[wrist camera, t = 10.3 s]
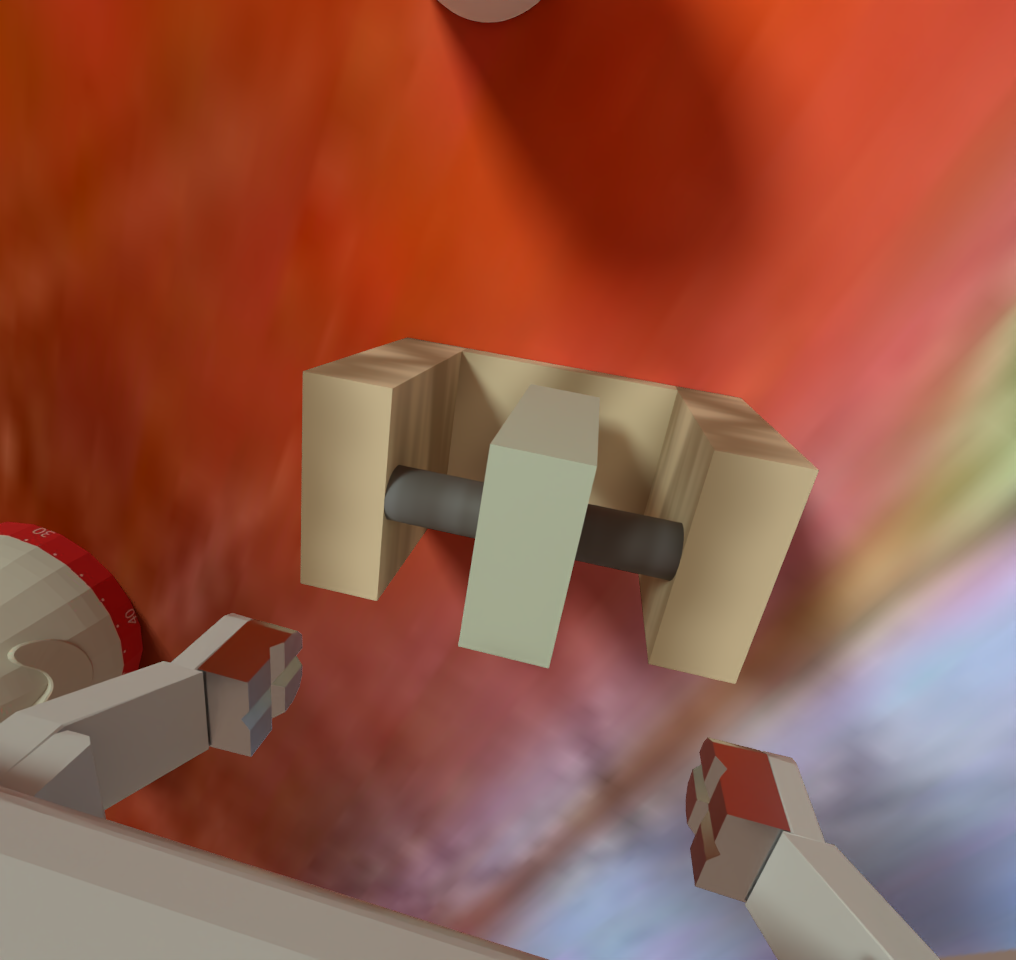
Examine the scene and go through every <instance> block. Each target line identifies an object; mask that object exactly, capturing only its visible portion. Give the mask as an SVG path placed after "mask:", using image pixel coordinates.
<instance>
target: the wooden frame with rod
mask: <svg viewBox="0 0 1016 960" xmlns="http://www.w3.org/2000/svg"><path fill="white" fill-rule="evenodd" d="M530 384H534V385H539V386H544V387H549V388H554V389H559V390H564V391H569V392H574V393H579V394H584V395H589V396H595V397H600V409H599V432H598V456H597V469H596V473H595V477H594V481H593V485H592V490H591V494H590V498H589V502H588V506H587V510H586V515H585V519H584V523H583V527H582V531H581V536H580V540H579V544H578V548H577V552H576V556H575V560H577V561H581V562H586V563H591V564H595V565H600V566H604V567H609V568H614V569H618V570H623V571H628V572H632V573H637V574H639V583H640V592H641V601H642V610H643V619H644V628H645V637H646V646H647V655H648V664H651V665H655V666H660V667H664V668H668V669H673V670H677V671H681V672H686V673H690V674H694V675H699V676H703V677H707V678H712V679H716V680H720V681H724V682H729V683H733V684H736V681H737V679H738V676H739V673H740V671H741V668H742V666H743V663H744V661H745V658H746V656H747V653H748V650H749V648H750V645H751V643H752V640H753V638H754V635H755V632H756V630H757V627H758V625H759V622H760V620H761V617H762V615H763V612H764V609H765V607H766V604H767V602H768V599H769V597H770V594H771V592H772V589H773V586H774V584H775V581H776V579H777V576H778V574H779V571H780V568H781V566H782V563H783V561H784V558H785V556H786V553H787V551H788V548H789V545H790V543H791V540H792V538H793V535H794V533H795V530H796V528H797V525H798V522H799V520H800V517H801V515H802V512H803V510H804V507H805V504H806V502H807V499H808V497H809V494H810V492H811V489H812V487H813V484H814V481H815V479H816V476H817V474H818V471H819V470H818V469H817V468H816V467H815V466H814V465H813V464H812V463H811V462H809V461H808V460H807V459H806V458H805V457H804V456H803V455H802V454H801V453H800V452H799V451H798V450H796V449H795V448H794V447H793V446H792V445H791V444H790V443H789V442H788V441H787V440H786V439H785V438H783V437H782V436H781V435H780V434H779V433H778V432H777V431H776V430H775V429H774V428H773V427H772V426H770V425H769V424H768V423H767V422H766V421H765V420H764V419H763V418H762V417H761V416H760V415H758V414H757V413H756V412H755V411H754V410H753V409H752V408H751V407H750V406H749V405H748V404H747V403H745V402H744V401H743V400H742V399H741V398H738V397H732V396H727V395H721V394H716V393H710V392H705V391H699V390H693V389H688V388H682V387H677V386H671V385H666V384H660V383H655V382H649V381H644V380H638V379H633V378H627V377H622V376H616V375H611V374H605V373H600V372H594V371H589V370H583V369H578V368H572V367H567V366H561V365H556V364H550V363H545V362H539V361H534V360H528V359H523V358H517V357H512V356H506V355H501V354H495V353H490V352H484V351H479V350H473V349H468V348H462V347H456V346H451V345H445V344H440V343H434V342H429V341H423V340H418V339H412V338H404V339H401V340H398V341H395V342H392V343H389V344H386V345H383V346H380V347H377V348H374V349H370V350H367V351H364V352H361V353H358V354H355V355H352V356H349V357H346V358H343V359H340V360H337V361H333V362H330V363H327V364H324V365H321V366H318V367H315V368H312V369H309V370H306V371H303V413H302V506H301V583H302V584H306V585H311V586H315V587H319V588H324V589H328V590H332V591H337V592H341V593H345V594H350V595H354V596H358V597H362V598H367V599H371V600H375V601H377V600H378V599H379V597H380V596H381V594H382V593H383V592H384V590H385V589H386V587H387V586H388V584H389V583H390V582H391V580H392V579H393V577H394V576H395V574H396V573H397V572H398V570H399V569H400V567H401V566H402V564H403V563H404V561H405V560H406V559H407V557H408V556H409V554H410V553H411V551H412V550H413V549H414V547H415V546H416V544H417V543H418V541H419V540H420V539H421V537H422V536H423V534H424V533H425V531H426V530H427V529H428V528H429V529H433V530H438V531H443V532H447V533H452V534H457V535H461V536H466V537H470V538H475V537H476V531H477V524H478V518H479V512H480V505H481V499H482V493H483V486H484V480H485V474H486V467H487V461H488V455H489V448H490V444H491V442H492V441H493V439H494V438H495V436H496V435H497V433H498V432H499V430H500V429H501V427H502V426H503V424H504V423H505V421H506V420H507V418H508V417H509V415H510V414H511V412H512V411H513V410H514V408H515V407H516V405H517V404H518V402H519V401H520V399H521V398H522V396H523V395H524V393H525V392H526V390H527V389H528V387H529V386H530Z"/></svg>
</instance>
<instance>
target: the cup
mask: <svg viewBox="0 0 1016 960" xmlns="http://www.w3.org/2000/svg"><path fill="white" fill-rule="evenodd" d="M438 1H439V2H440V3H441V4H442V5H444V6H445V7H446V8H447V9H449V10H450V11H452V12H453V13H455V14H457V15H459V16H461V17H463V18H465V19H469V20H472V21H477V22H487V23H490V22H500V21H505V20H508V19H511V18H514V17H516V16H518V15H520V14H522V13H524V12H526V11H527V10H529V9H530V8H532V7H533V6H534V5H536V4H537V3H538V2H539V1H540V0H438Z"/></svg>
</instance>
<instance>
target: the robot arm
mask: <svg viewBox="0 0 1016 960" xmlns="http://www.w3.org/2000/svg"><path fill="white" fill-rule="evenodd" d="M301 649H302V634H300V633H299V632H298V631H295V630H291V629H288V628H284V627H281V626H277V625H274V624H270V623H267V622H263V621H260V620H257V619H251V618H247V617H244V616H241V615H237V614H234V613H231V614H228V615H225V616H224V617H222V618H221V619H220V620H219V621H218V622H217V623H216V624H214V625H213V626H212V627H211V628H210V629H209V630H208V631H206V632H205V633H204V634H203V635H202V636H201V637H200V638H198V639H197V640H196V641H195V642H194V643H193V644H191V645H190V646H189V647H188V648H187V649H186V650H185V651H183V652H182V653H181V654H180V655H179V656H178V657H177V658H175V659H174V660H173V661H172V662H171V663H169V662H165V661H162V662H159V663H156V664H153V665H151V666H148V667H145V668H142V669H139V670H136V671H133V672H130V673H127V674H124V675H122V676H119V677H116V678H113V679H110V680H107V681H104V682H101V683H98V684H95V685H93V686H90V687H87V688H84V689H81V690H78V691H75V692H72V693H69V694H66V695H64V696H61V697H58V698H55V699H52V700H49V701H46V702H43V703H40V704H37V705H35V706H32V707H29V708H26V709H23V710H20V711H17V712H15V713H14V714H12V715H11V716H10V717H8V718H7V719H6V720H4V721H3V722H2V723H0V960H548V959H545V958H542V957H539V956H536V955H532V954H529V953H526V952H523V951H520V950H517V949H513V948H510V947H507V946H504V945H501V944H497V943H494V942H491V941H488V940H485V939H482V938H478V937H475V936H472V935H469V934H466V933H463V932H459V931H456V930H453V929H450V928H447V927H444V926H440V925H437V924H434V923H431V922H428V921H425V920H422V919H418V918H415V917H412V916H409V915H406V914H403V913H400V912H396V911H393V910H390V909H387V908H384V907H381V906H378V905H374V904H371V903H368V902H365V901H362V900H359V899H356V898H352V897H349V896H346V895H343V894H340V893H337V892H333V891H330V890H327V889H324V888H321V887H318V886H315V885H311V884H308V883H305V882H302V881H299V880H296V879H293V878H289V877H286V876H283V875H280V874H277V873H274V872H270V871H267V870H264V869H261V868H258V867H255V866H251V865H248V864H245V863H242V862H239V861H236V860H233V859H229V858H226V857H223V856H220V855H217V854H214V853H210V852H207V851H204V850H201V849H198V848H195V847H191V846H188V845H185V844H182V843H179V842H176V841H172V840H169V839H166V838H163V837H160V836H157V835H154V834H150V833H147V832H144V831H141V830H138V829H135V828H131V827H128V826H125V825H122V824H119V823H116V822H112V821H109V820H106V817H105V812H104V810H105V809H107V808H109V807H110V806H112V805H114V804H116V803H117V802H119V801H121V800H122V799H124V798H126V797H127V796H129V795H131V794H133V793H134V792H136V791H138V790H139V789H141V788H143V787H145V786H146V785H148V784H150V783H151V782H153V781H155V780H156V779H158V778H160V777H162V776H163V775H165V774H167V773H168V772H170V771H172V770H174V769H175V768H177V767H179V766H180V765H182V764H184V763H185V762H187V761H189V760H191V759H192V758H194V757H196V756H197V755H199V754H201V753H202V752H204V751H206V750H208V749H209V746H211V747H215V748H219V749H222V750H226V751H230V752H234V753H238V754H242V755H246V756H250V757H251V756H252V755H253V753H254V752H255V751H256V750H257V748H258V747H259V746H260V744H261V743H262V742H263V740H264V739H265V738H266V736H267V735H268V734H269V732H270V731H271V730H272V718H273V717H276V716H278V715H280V714H282V713H284V712H285V711H286V710H287V708H288V707H289V706H290V704H291V703H292V701H293V700H294V698H295V695H296V693H297V691H298V689H299V686H300V682H301V677H302V664H301V663H300V661H299V660H298V658H297V656H296V655H297V654H298V653H299V651H300V650H301ZM700 758H701V765H700V766H698V767H696V768H695V769H693V770H692V773H691V776H690V779H689V782H688V787H687V794H686V817H687V824H688V826H689V827H690V829H691V830H692V831H693V833H694V834H695V838H694V840H693V843H692V845H691V848H690V850H691V858H692V865H693V873H694V881H695V886H696V887H699V888H702V889H705V890H708V891H711V892H715V893H718V894H721V895H724V896H727V897H730V898H733V899H736V900H739V901H743V902H746V904H745V906H746V907H747V909H748V911H749V912H750V914H751V916H752V917H753V919H754V921H755V922H756V924H757V926H758V927H759V929H760V931H761V932H762V934H763V936H764V937H765V939H766V941H767V942H768V944H769V946H770V947H771V949H772V951H773V952H774V954H775V956H776V957H777V959H778V960H940V959H939V957H938V956H937V955H936V954H935V953H934V952H933V951H932V950H931V949H930V948H929V947H928V946H927V945H926V943H925V942H924V941H923V940H922V939H921V938H920V937H919V936H918V935H917V934H916V933H915V932H914V930H913V929H912V928H911V927H910V926H909V925H908V924H907V923H906V922H905V921H904V920H903V919H902V918H901V916H900V915H899V914H898V913H897V912H896V911H895V910H894V909H893V908H892V907H891V906H890V905H889V904H888V902H887V901H886V900H885V899H884V898H883V897H882V896H881V895H880V894H879V893H878V892H877V891H876V889H875V888H874V887H873V886H872V885H871V884H870V883H869V882H868V881H867V880H866V879H865V878H864V877H863V875H862V874H861V873H860V872H859V871H858V870H857V869H856V868H855V867H854V866H853V865H852V864H851V863H850V861H849V860H848V859H847V858H846V857H845V856H844V855H843V854H842V853H841V852H840V851H839V850H838V848H837V847H836V846H835V845H832V844H828V843H826V842H825V840H824V837H823V834H822V832H821V829H820V826H819V823H818V821H817V818H816V815H815V813H814V810H813V807H812V804H811V802H810V799H809V796H808V794H807V791H806V788H805V785H804V783H803V780H802V777H801V775H800V772H799V769H798V766H797V764H796V762H795V761H794V760H793V759H792V758H790V757H786V756H781V755H777V754H773V753H769V752H765V751H763V752H762V751H760V750H756V749H752V748H748V747H744V746H740V745H736V744H732V743H728V742H724V741H720V740H716V739H712V738H707V739H706V740H705V741H704V743H703V745H702V747H701V750H700Z"/></svg>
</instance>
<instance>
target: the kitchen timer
mask: <svg viewBox="0 0 1016 960" xmlns="http://www.w3.org/2000/svg"><path fill="white" fill-rule="evenodd" d="M142 652H143V645H142V636H141V627H140V624H139V621H138V619H137V616H136V614H135V611H134V609H133V606H132V604H131V601H130V599H129V598H128V597H127V595H126V594H125V592H124V591H123V589H122V588H121V587H120V585H119V584H118V582H117V581H116V579H115V578H114V577H113V575H112V574H111V573H110V572H109V571H108V570H107V569H106V568H105V567H104V566H103V565H102V564H100V563H99V562H98V561H97V560H96V559H95V558H94V557H93V556H92V555H91V554H90V553H89V552H87V551H86V550H84V549H83V548H81V547H80V546H78V545H77V544H75V543H73V542H72V541H70V540H69V539H67V538H66V537H64V536H63V535H60V534H58V533H55V532H52V531H50V530H47V529H44V528H42V527H39V526H36V525H33V524H23V523H14V522H5V523H0V723H2V722H3V721H4V720H6V719H7V718H8V717H10V716H11V715H12V714H14V713H15V712H17V711H20V710H23V709H26V708H29V707H32V706H35V705H37V704H40V703H43V702H46V701H49V700H52V699H55V698H58V697H61V696H64V695H66V694H69V693H72V692H75V691H78V690H81V689H84V688H87V687H90V686H93V685H95V684H98V683H101V682H104V681H107V680H110V679H113V678H116V677H119V676H122V675H124V674H127V673H130V672H133V671H136V670H138V668H139V664H140V660H141V656H142Z"/></svg>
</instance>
